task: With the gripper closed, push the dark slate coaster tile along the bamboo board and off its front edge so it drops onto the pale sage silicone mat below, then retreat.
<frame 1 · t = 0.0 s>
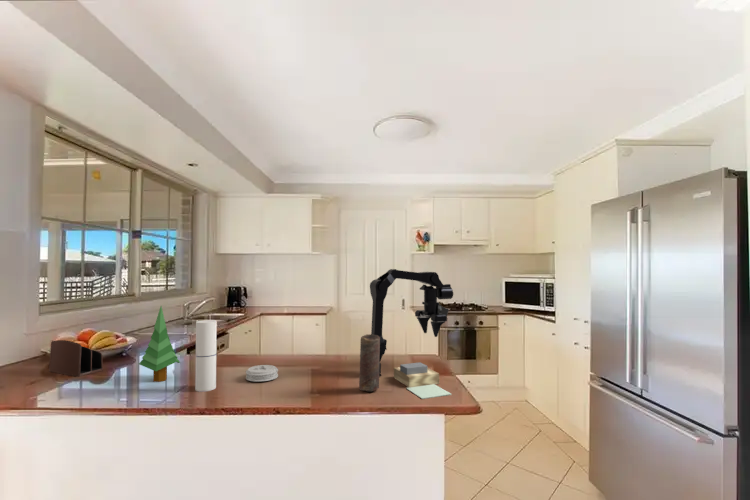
hand: (430, 334, 179), 15 cm above the countertop, fingers open, 9 cm apart
tile: (413, 371, 159), point 4 cm above the countertop, touching board
letter holder: (75, 372, 173), on the countertop
cylindrical container: (205, 388, 150), on the countertop
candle: (369, 390, 149), on the countertop
lid: (262, 379, 163), on the countertop
decorative tree: (160, 380, 161), on the countertop
board: (415, 380, 160), on the countertop
mat: (428, 391, 147), on the countertop
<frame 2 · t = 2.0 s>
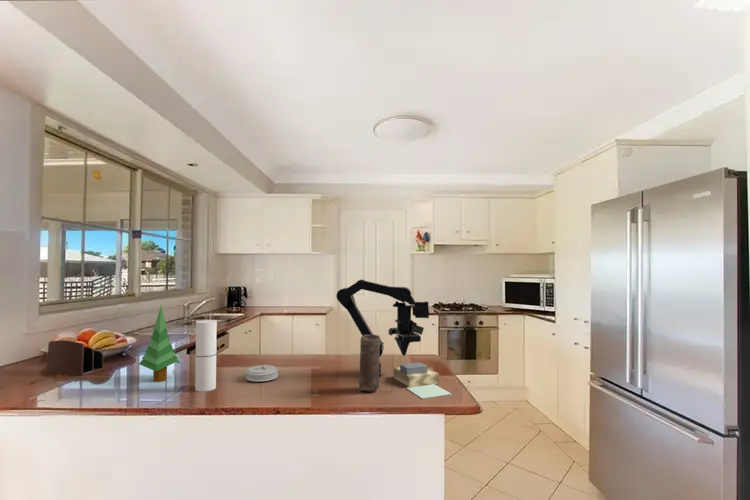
hand: (403, 355, 167), 9 cm above the countertop, fingers closed
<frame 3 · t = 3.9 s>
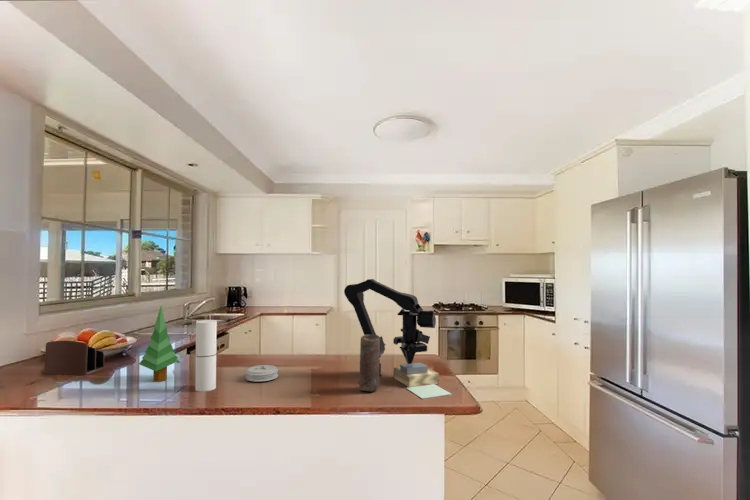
hand: (409, 365, 162), 6 cm above the countertop, fingers closed
tile: (413, 371, 159), point 4 cm above the countertop, touching board, gripper
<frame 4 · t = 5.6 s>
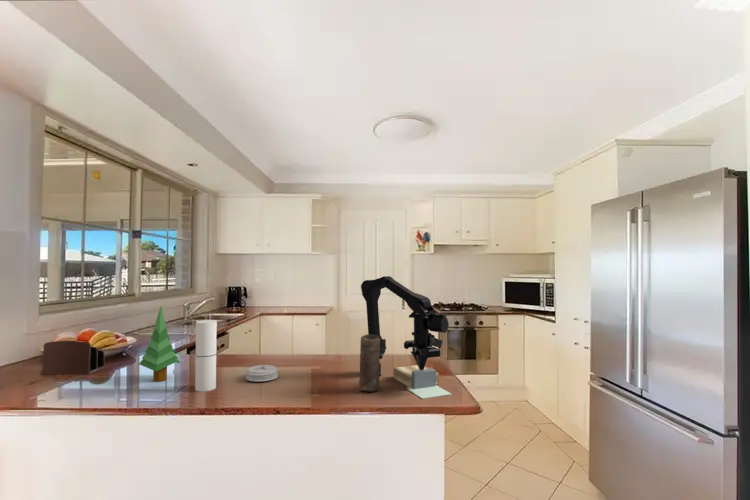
hand: (421, 371, 153), 6 cm above the countertop, fingers closed
tile: (422, 377, 153), point 3 cm above the countertop, tilted 93°, touching gripper, mat
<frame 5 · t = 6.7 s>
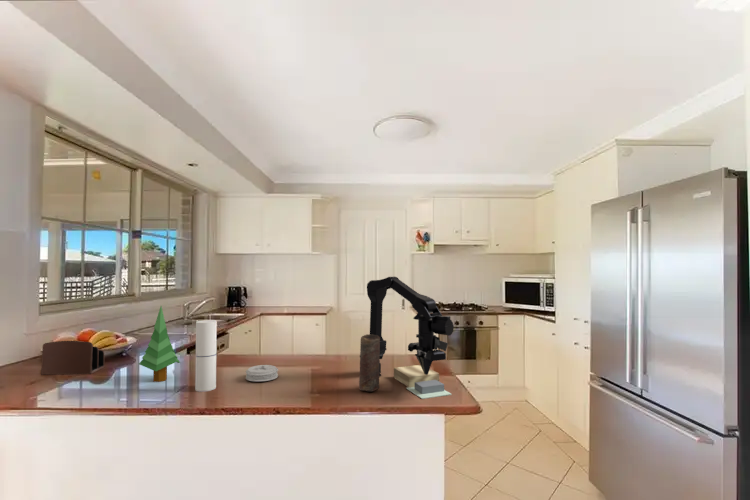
hand: (426, 374, 150), 6 cm above the countertop, fingers closed
tile: (429, 383, 148), point 3 cm above the countertop, tilted 180°, touching mat
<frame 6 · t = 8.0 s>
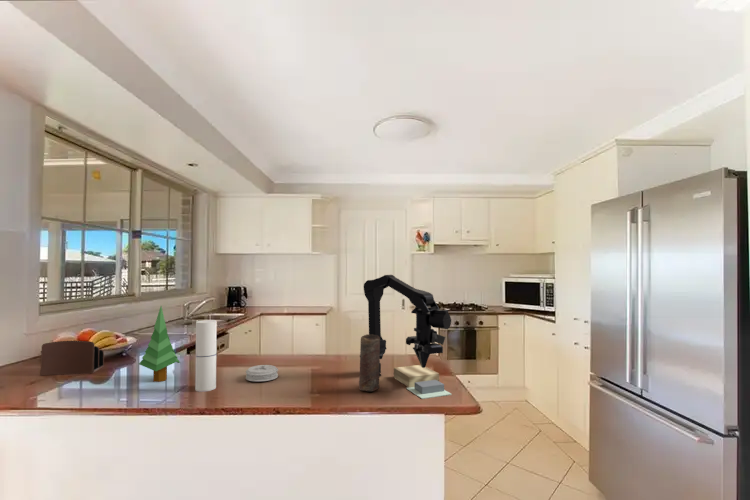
hand: (423, 367, 152), 8 cm above the countertop, fingers closed
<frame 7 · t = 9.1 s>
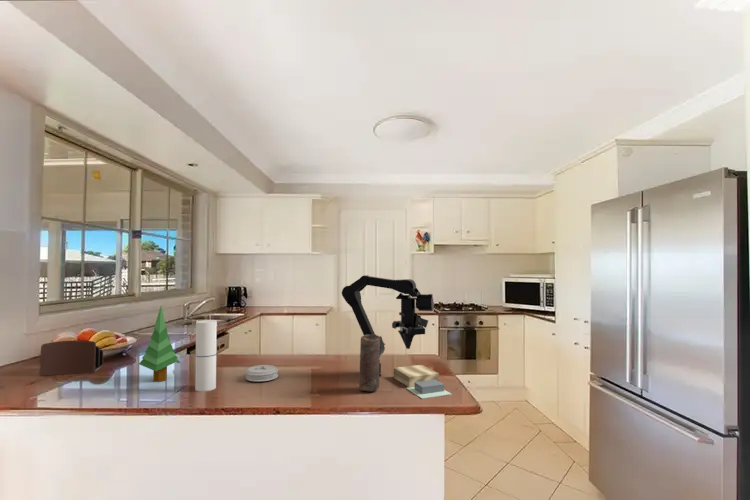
hand: (408, 348, 164), 12 cm above the countertop, fingers closed
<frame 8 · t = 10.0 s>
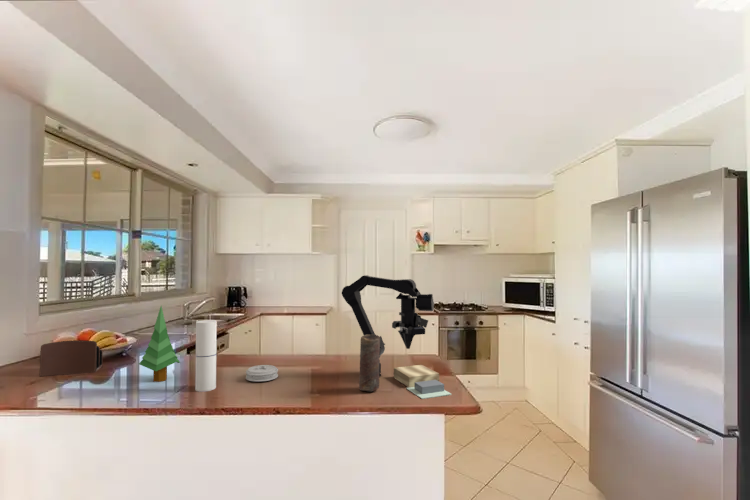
hand: (408, 348, 164), 12 cm above the countertop, fingers closed
at the end: tile point 2.8 cm above the countertop; tile inside the target area (0.8 cm from its centre), point 2.8 cm above the countertop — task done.
